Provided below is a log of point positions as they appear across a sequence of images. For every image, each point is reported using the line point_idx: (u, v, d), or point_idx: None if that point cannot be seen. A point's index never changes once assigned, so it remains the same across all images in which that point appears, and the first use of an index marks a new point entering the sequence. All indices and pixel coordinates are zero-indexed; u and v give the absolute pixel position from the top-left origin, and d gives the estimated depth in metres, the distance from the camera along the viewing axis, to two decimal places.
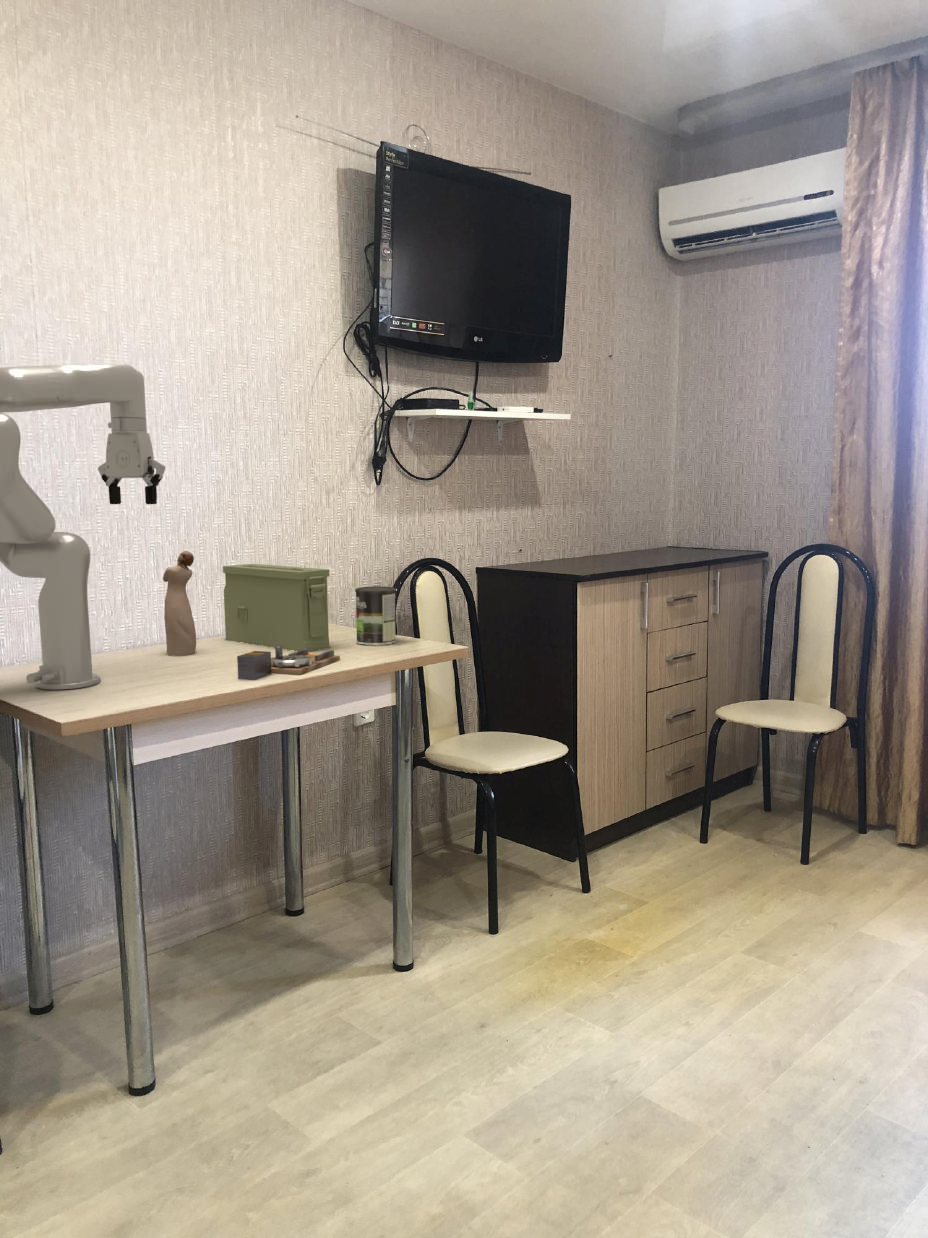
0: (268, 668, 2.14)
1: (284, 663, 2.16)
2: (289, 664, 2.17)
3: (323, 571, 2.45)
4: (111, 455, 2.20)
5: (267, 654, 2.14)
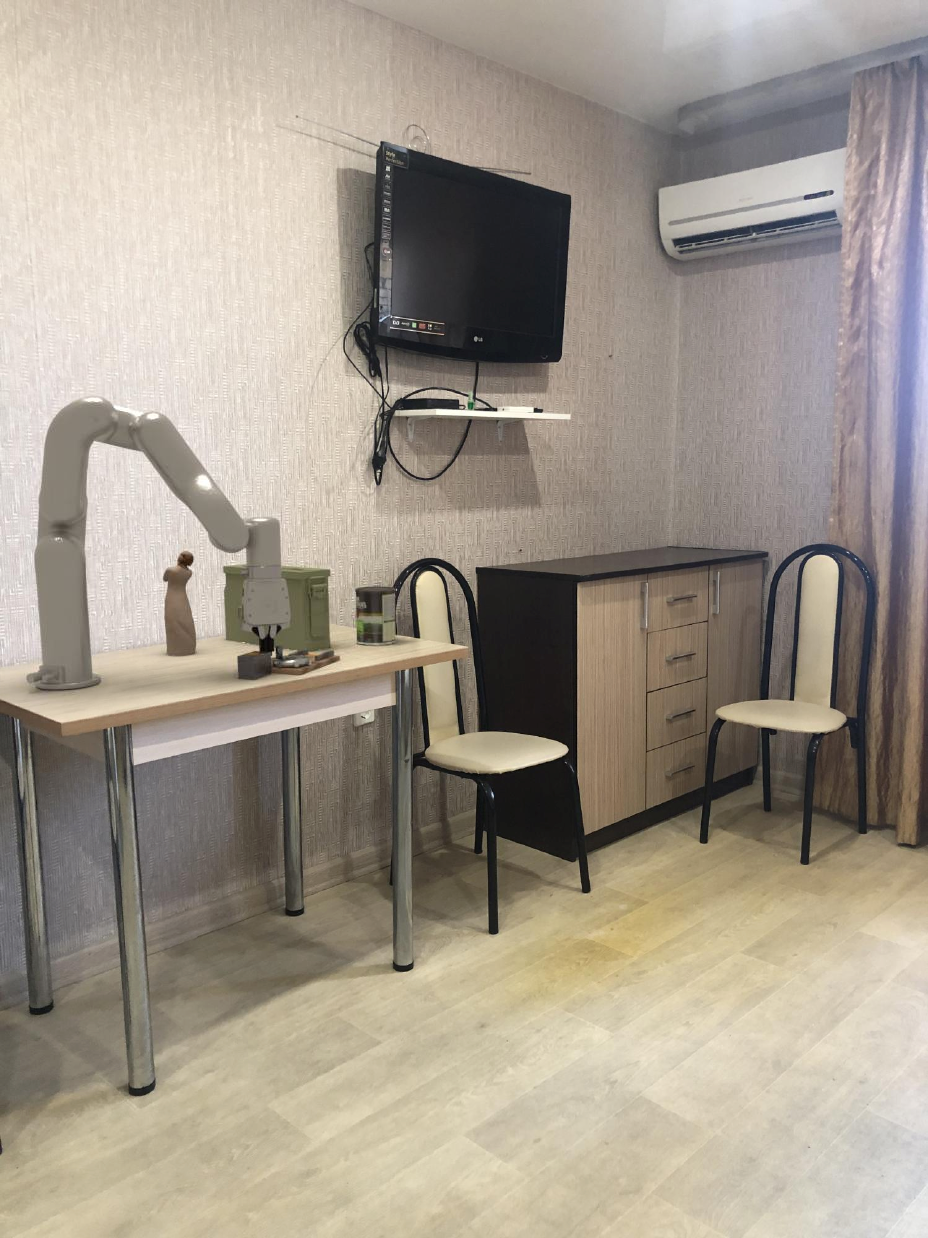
0: (268, 668, 2.14)
1: (284, 663, 2.17)
2: (288, 664, 2.16)
3: (324, 571, 2.46)
4: (254, 603, 2.15)
5: (267, 654, 2.14)
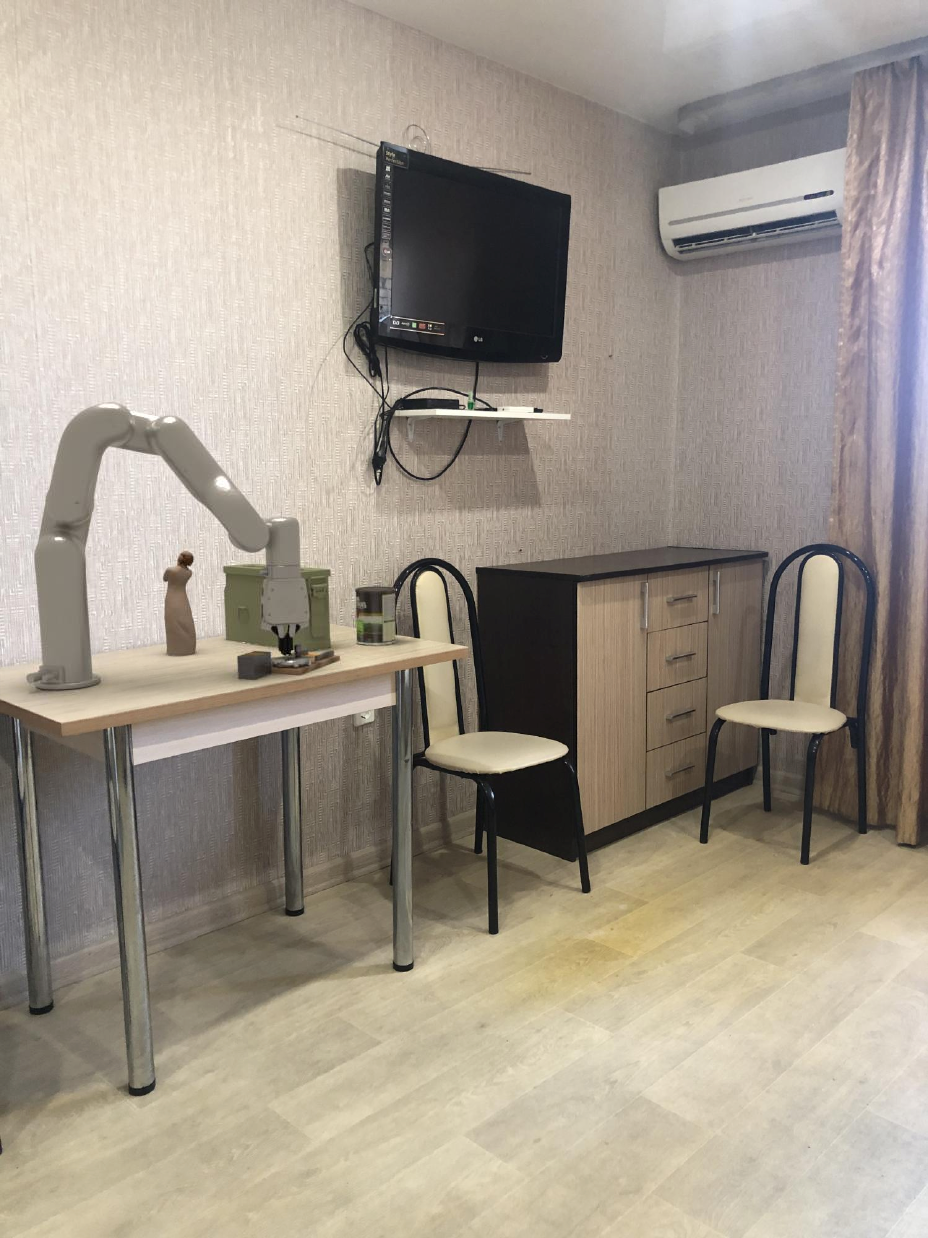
0: (268, 668, 2.14)
1: None
2: None
3: (325, 571, 2.46)
4: (274, 603, 2.17)
5: (267, 654, 2.14)
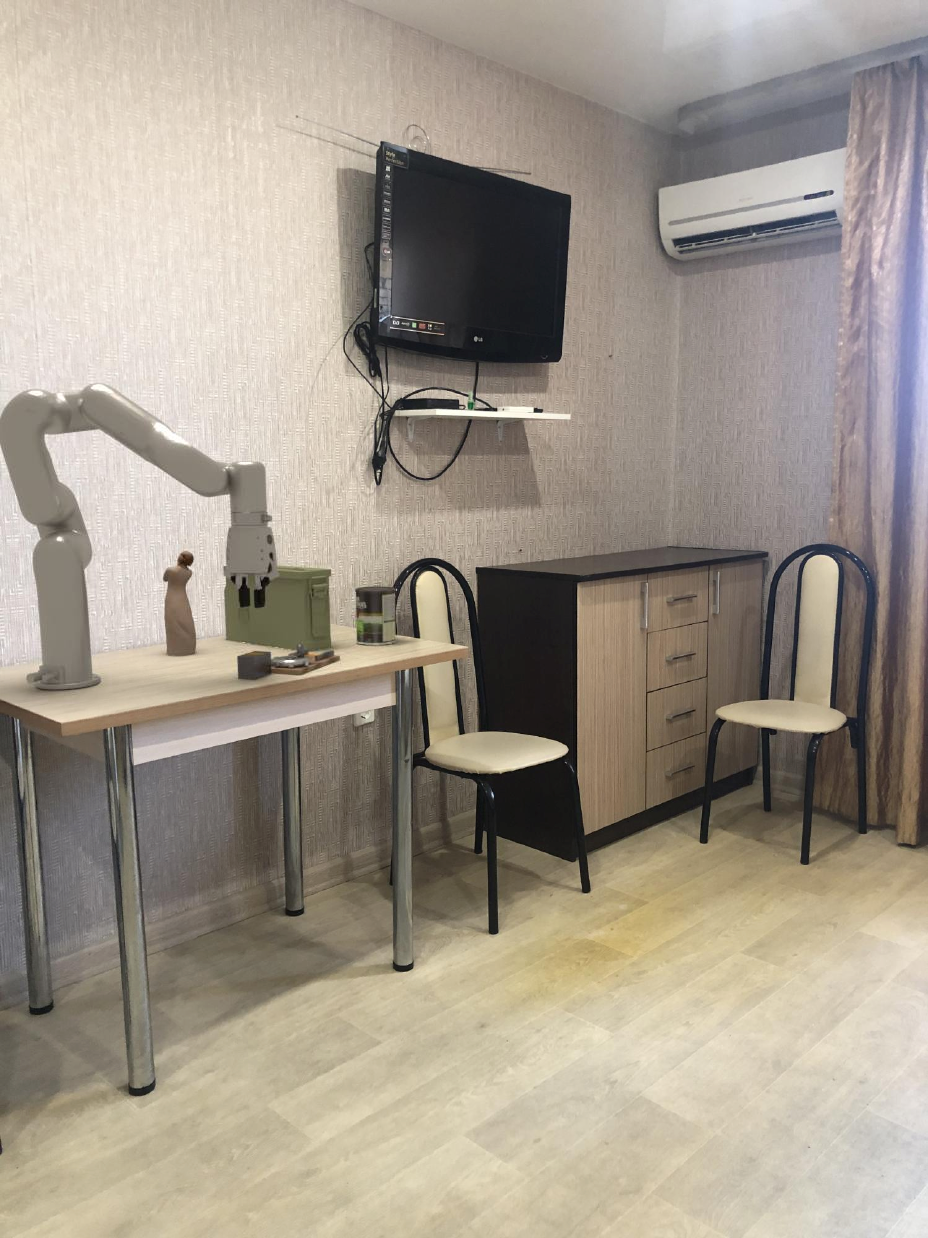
0: (268, 668, 2.14)
1: None
2: None
3: (325, 571, 2.46)
4: None
5: (267, 654, 2.14)
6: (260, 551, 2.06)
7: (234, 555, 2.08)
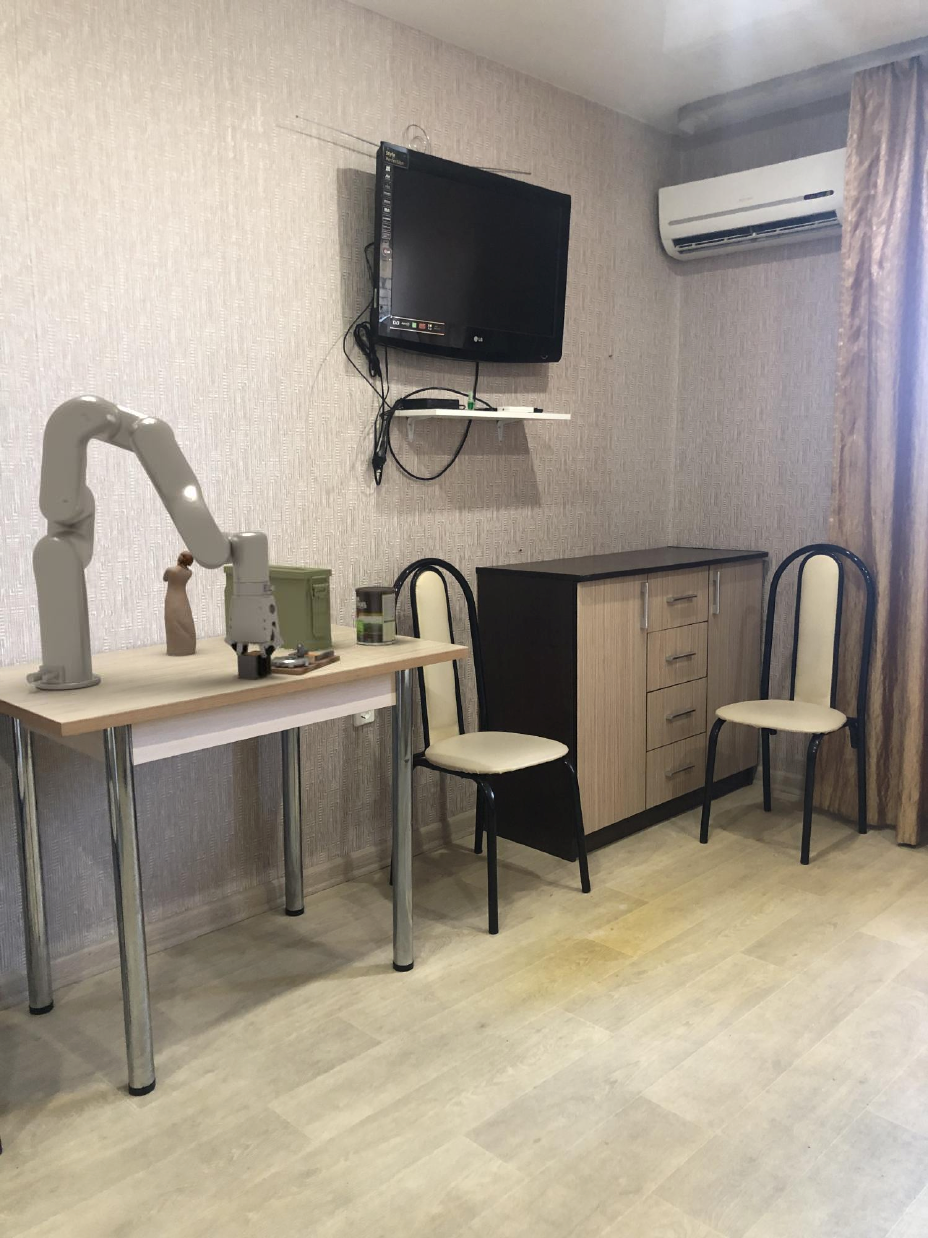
0: None
1: None
2: None
3: (326, 571, 2.46)
4: None
5: None
6: (263, 621, 2.08)
7: (237, 624, 2.10)
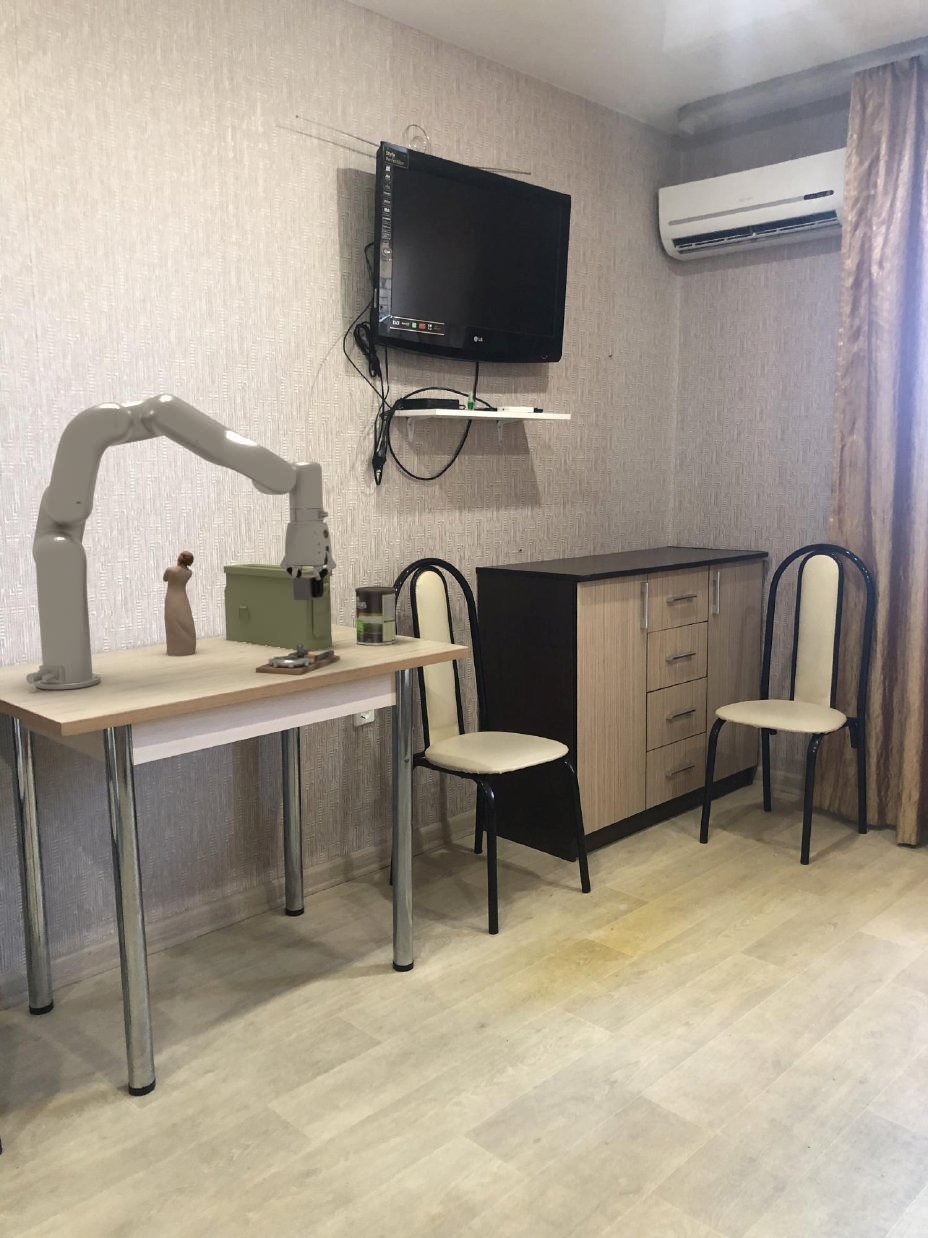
0: None
1: None
2: None
3: None
4: None
5: None
6: (317, 545, 2.23)
7: (292, 549, 2.25)
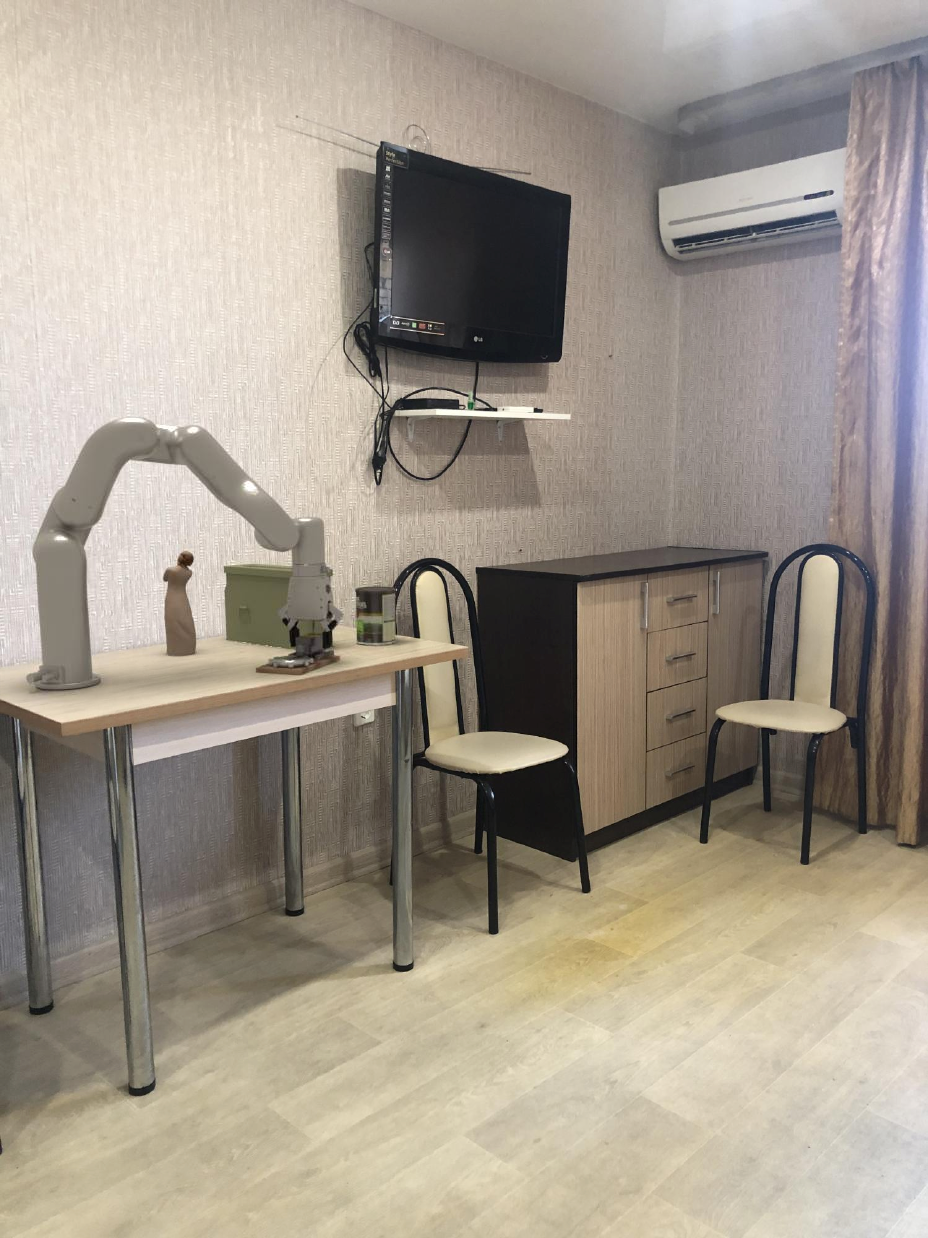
0: (323, 649, 2.31)
1: None
2: None
3: None
4: None
5: None
6: (319, 600, 2.24)
7: (295, 603, 2.26)
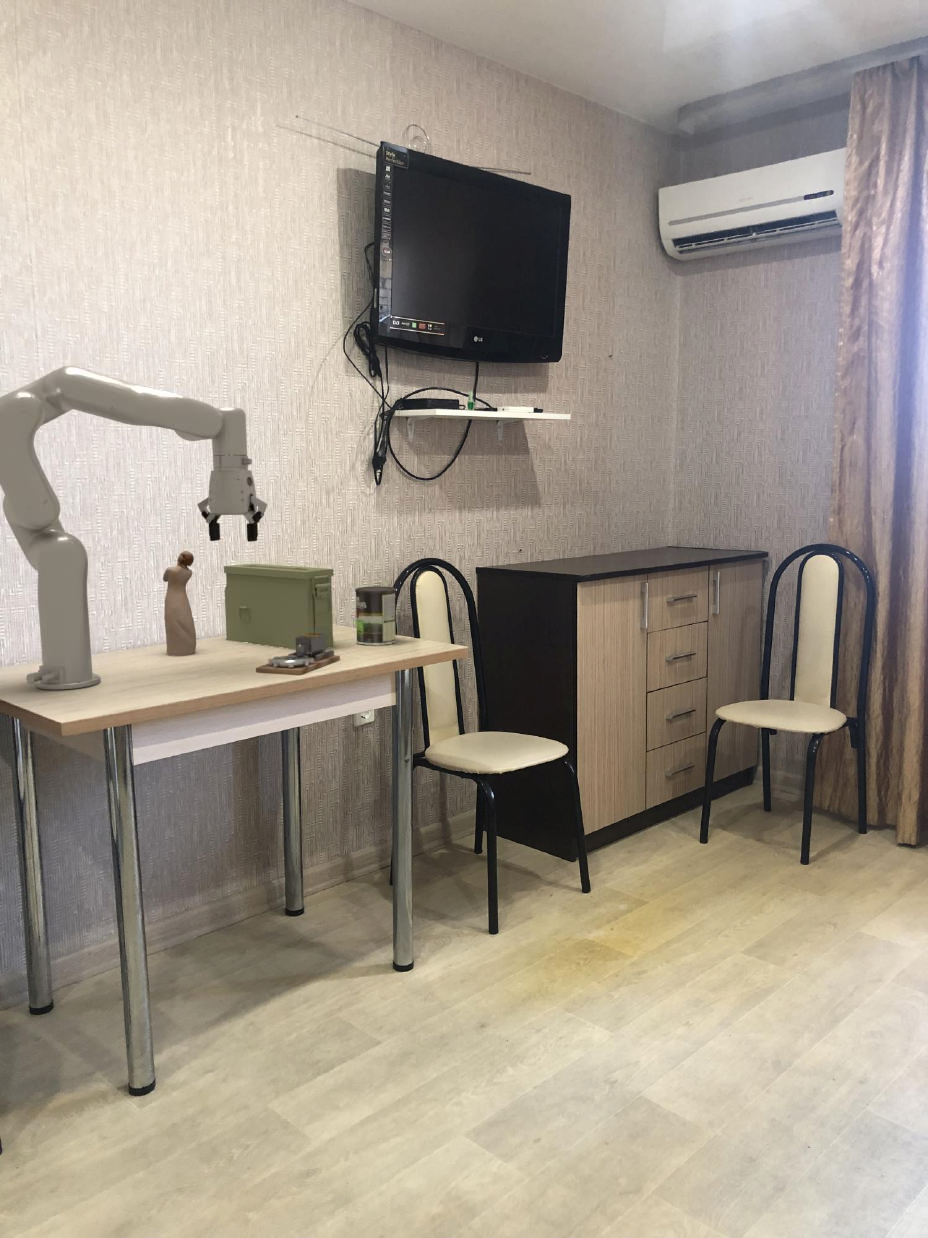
0: (323, 649, 2.31)
1: None
2: None
3: (328, 571, 2.47)
4: None
5: (322, 636, 2.30)
6: (240, 492, 2.18)
7: (216, 497, 2.20)
